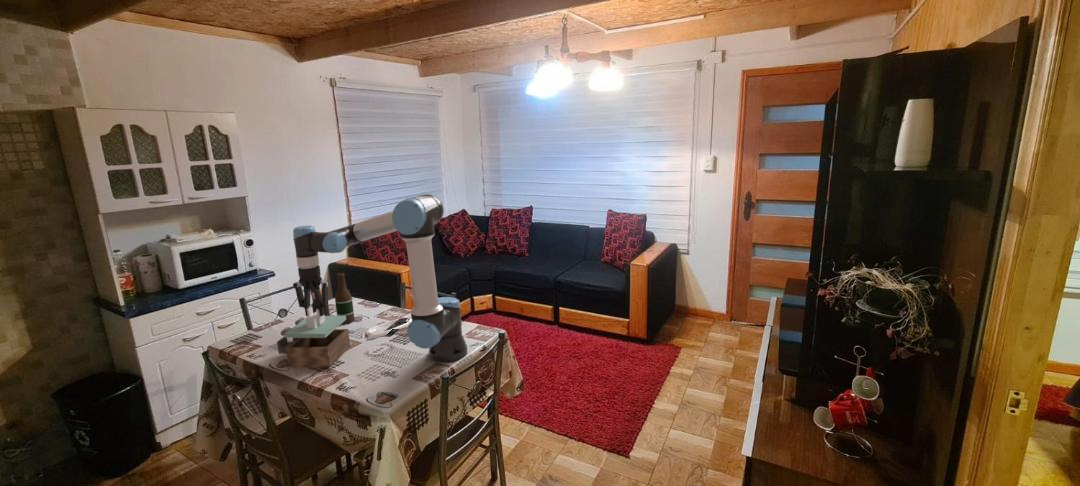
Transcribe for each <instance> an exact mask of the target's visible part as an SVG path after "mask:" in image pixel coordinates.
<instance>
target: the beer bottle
mask: <svg viewBox="0 0 1080 486" xmlns="http://www.w3.org/2000/svg"><path fill="white" fill-rule="evenodd" d="M345 275H346V274H345V272H338V273H336V274H335V276H336V279H337V280H336V281H337V290H336V292H335V295H334V300H335V301H334V302H335V310H336V311H335V312H336V316H346V320H345V321H344V322H343V323H342V324H341V325H349V324H351V323H353V322H355V313H354V312H355V311H354V304H353V298H352V294H351V292H350V290H349V289H347V288H348V287H347V283H346V278H345Z"/></svg>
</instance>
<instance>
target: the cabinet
mask: <svg viewBox="0 0 1080 486" xmlns="http://www.w3.org/2000/svg"><path fill="white" fill-rule="evenodd" d="M291 339H292V341H288V338H285V336H283V337H281V338H280V339H278V340H277V341H276V344H277V345H276V346H277V350H278V355H286V356H287V362H288V368H290V367H293V368H294V367H296V368H297V369H298V368H299V367H300V368H303V369H304V368H310V369H311V368H318V369H319V368H321V369H322V368H331V367H332V366H333V365H334V364H335V363H336V362H338V360H339V359H340V358H341V357H342V356H343V355H344V354H345V353H346V352H347V351H348V350H349V349H350V348H351V342H350V341H351V340H350V332H349V328H336V329H335V330H334V331H333V332H331V333H330V334H329V335H328V336H327V337H326V338H291ZM293 368H292V369H293ZM290 369H291V368H290Z"/></svg>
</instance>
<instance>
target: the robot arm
mask: <svg viewBox="0 0 1080 486" xmlns="http://www.w3.org/2000/svg"><path fill="white" fill-rule="evenodd" d="M444 211H445V210H444V205H443V203H442V201H441V200H440V199H439V198H438V197H437V196H435V195H432V194H429V193H427V194H421V195H418V196H417V195H416V196H412V197H409V198H405V199H403V200H401V201H400V202H398V203H397V204H396V205H395V206H394V208H393V210H392V211H388V212H386V213H383V214H380V215H377V216H374V217H372V218H371V217H370V218H367V219H365V220H361V221H359V222H356V223H353V224H350V225H347V226H344V227H340V228H337V229H333V230H330V231H326V232H325V231H323V232H321V231H316V228H315V226H313V225H300V226H296V227H294V228H293V229H292V233H293V235H292V237H293V243H294V248H295V257H296V264H297V267H298V268H297V270H298V271H297V272H298V277H299V280H298V281H296V282H294V283H293V284H292V286H293V288H294V290H295V293H296V298H297V302H298V307H299V308H303V309H304V312H305V316H306V317H309V316H311V315H312V314H313V308H312V307H311V291H312V293H314V295H315V299H316V302H317V306H318V308H317V309H316V311H317V318H318V325H321V324H322V323H323V315H324V307H326V306H327V305H328V306H329V290H328V289H329V284H330V282H329V281H325V280H323V279H322V277H321V269H320V268H321V267H320V259H319V258H320V257H319V253H325V254H326V253H329V254H340V253H343V252H344V250H345V249H346V248H347V247H349V246H353V245H355V244H359V243H362V242H365V241H368V240H371V239H374V238H377V237H380V236H384V235H387V234H391V233H393V232H399V233H400V238H401V240H403V241H404V242H405V244H406V249H407V250H406V252H407V259H408V260H407V261H408V267H409V275H410V283H411V290H412V299H413V307H412V308H411V310H410V319H411V320H412V322H411V323H410V324H409V326H408V327H406V329H407V330H406V333H407V337H408V339H409V341H410V342H411V343H412V344H414V345H415V346H416V347H417V348H420V349H424V350H427V349H428V355H429V356H428V357H429V359H431V360H432V361H434V362H435V361H436V362H438V363H439V362H442V363H446V362H454V361H458V360H460V359H462V358H464V357H465V356H467V354H468V346H467V345H468V344H467V343H466V340H465V338H464V335H463V330H462V313H461V312H462V311H461V309H462V307H461V302H460V299H458V298H456V297H452V296H451V297H450V296H442V297H439V296H438V288H437V280H436V271H435V262H434V254H433V245H432V239H433V238H434V236H435V235H436V234H435V233H436V232H435V225H437V224H438V223H439V222H440V220H442V219H443V217H444ZM320 286H321V288H320ZM320 291H322V296H321V293H320Z"/></svg>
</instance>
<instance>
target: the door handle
mask: <svg viewBox="0 0 1080 486" xmlns="http://www.w3.org/2000/svg"><path fill="white" fill-rule="evenodd" d="M402 318H408V319H409V320H408V319H407V320H406V322H407V323H402V324H401V325H399V326H396V327H393V328H390V329H387V330H384V331H381V332H378V333H377V332H376V331H378V330H382V329H384V328H387V327H389V325H390V326H392V325H391V324H393V323H395V322H396V321H398V320H399V319H402ZM411 322H412V319H411V316H403V317H400V318H397V319H393V320H390V321H387V322H383V323H381V324H378V325H376V326H374V327H371V328H370V329H367V330H365V331H363V333H362V334H361V338H365V337H366V336H367V338H366V340H367V341H368V340H374V339H375V340H376V339H378V338H381V337H385V336H388V335H389V334H388V333H389V332H390V331H391V330H392V329H401V328H404V327H406V326H409V324H410V323H411ZM393 325H394V324H393ZM406 328H407V327H406ZM404 329H405V328H404ZM401 330H402V329H401ZM387 334H388V335H387Z"/></svg>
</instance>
